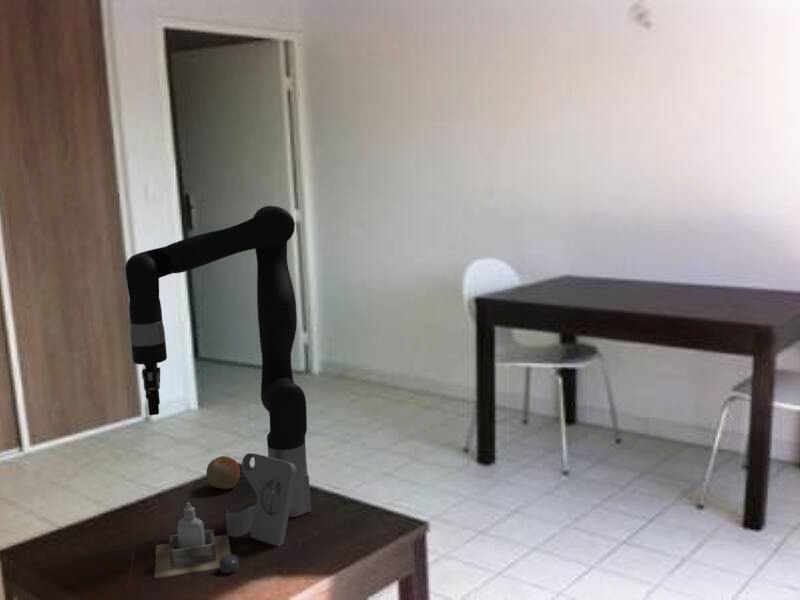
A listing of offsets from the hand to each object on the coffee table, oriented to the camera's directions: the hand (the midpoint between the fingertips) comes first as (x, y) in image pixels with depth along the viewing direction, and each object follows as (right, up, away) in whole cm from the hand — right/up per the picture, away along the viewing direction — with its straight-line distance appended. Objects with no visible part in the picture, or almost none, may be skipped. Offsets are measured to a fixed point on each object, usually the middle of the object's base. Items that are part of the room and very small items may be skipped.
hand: (154, 409), depth 193 cm
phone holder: (+25, -30, 0) cm, 39 cm away
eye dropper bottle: (+11, -31, -10) cm, 34 cm away
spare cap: (+21, -32, -17) cm, 41 cm away
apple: (+10, -25, +31) cm, 42 cm away
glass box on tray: (+12, -32, -10) cm, 35 cm away
